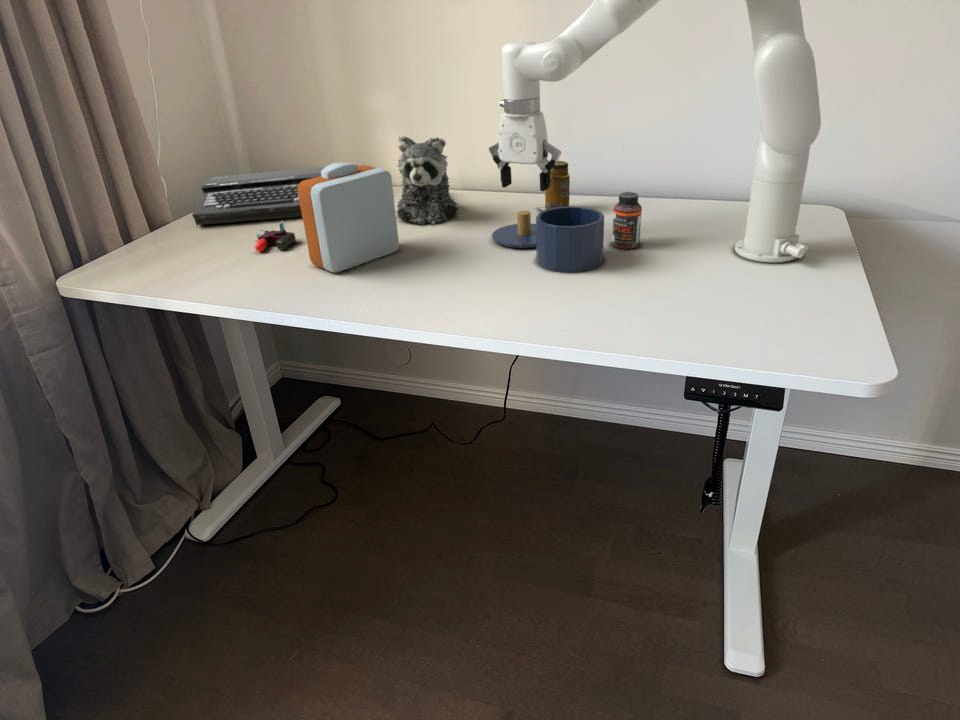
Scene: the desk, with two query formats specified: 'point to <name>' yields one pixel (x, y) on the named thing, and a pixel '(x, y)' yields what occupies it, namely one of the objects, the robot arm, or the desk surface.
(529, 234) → the tin lid
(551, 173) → the condiment
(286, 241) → the toy gun
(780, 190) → the robot arm
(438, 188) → the raccoon plush
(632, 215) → the supplement bottle
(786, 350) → the desk surface
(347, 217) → the alarm clock
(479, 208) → the desk surface
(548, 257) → the tin
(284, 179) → the vintage computer
